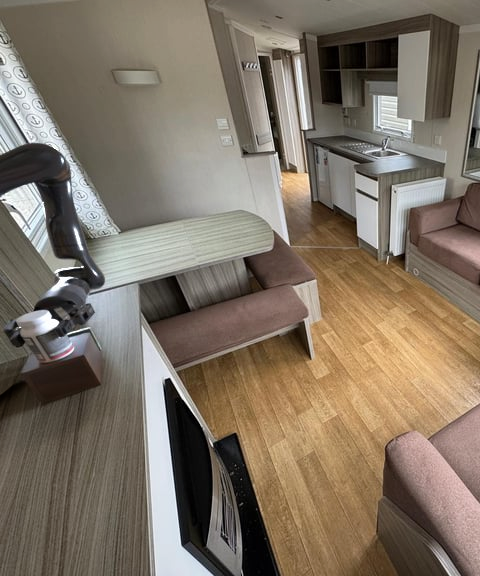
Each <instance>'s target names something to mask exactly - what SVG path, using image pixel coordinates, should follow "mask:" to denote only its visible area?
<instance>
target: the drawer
mask: <svg viewBox="0 0 480 576" xmlns="http://www.w3.org/2000/svg"><path fill="white" fill-rule="evenodd" d="M85 333H90V334H91V336H92V338H93V340H94V342H95V344H96V345H97V347H98V349H99V351H100V352H101V351H102V350H103V349H102V346H101V344H100V342H99V340H98V339H97V337H96V335H95V333H94V331H93V329H92V327H91V326H88V327H84V328H80V329H77V330H72V331H70V332H69V333H68V334H67V336H68V338H70V337H74V336H78V335H82V334H85Z"/></svg>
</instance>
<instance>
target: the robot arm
mask: <svg viewBox="0 0 480 576" xmlns="http://www.w3.org/2000/svg"><path fill="white" fill-rule="evenodd" d="M31 184H34V186H35V187H36V189H37V192H38V193H39V197H40V198H41V202H42V206H43V211H44V220H45V221H44V222H45V229H46V232H47V237H48V240H49V243H50V247H51V251H52V253H53V256H54V257H55V258H56V259H58V260H65V261H67V260H68V261H77V262H78V263H80V264H81V266H75V267H68V268H61V269H57V270H56V271H54V272H53V273H52V275H51V281H52V287H50V288H49V289H48V290H46V292H45V293H44V294H43V295H42V296H41V297H40V299H39V300H38V301H37V302H36V303H35V304H34V308H33V311H32V312H34V311H40V310H47V311H49V313H50V314H51V316H52V317H51V319H55V320H57V321H58V322H59V324H58V325H57V327H56V332H57V334H58V335H59V337H64V336H66V334H68V333H69V332H71V330H72V329H74V328H75V327H76V325H79V326H83V325H85V324H87V323H88V321H89V320H90V319H91V318H92V317H94V315H95V314H96V312H95V311H96V310H95V309H94V306H92V303H90V302H89V303H87V299H88V298H89V296H90V294H91V291H96V290H100V289H101V288H103V287H104V285H105V283H106V277H105V274H104V273H103V270H102V269H101V268H100V267H99V265H98V264H97V263H96V261H95V260H94V257H93V256H92V254H91V252H90V250H89V247H88V244H87V240H86V237H85V233H84V230H83V227H82V224H81V222H80V218H79V216H78V211H77V209H76V205H75V201H74V200H75V199H74V195H73V187H72V186H73V185H72V167H71V165H70V163H69V161H68V160H67V158H66V157H65V155H64V154H63V153H62V152H61V151H60V150H58V149H57V148H55V147H54V146H52V145H49V144H46V143H41V142H29V143H24V144H21V145H18V146H16V147H14V148H12V149H9V150H8V151H5V152H4V153H1V154H0V198H2V197H3V196H5V195H6V194H8V193H10V192H11V191H13V190H16V189H19V188H21V187H26V186H27V185H31ZM16 319H17V318H15V317H13V318H10V319H8V320H7V321H6V323H5V326H4V328H3V330H2V331H3V333H4V335H6V337H7V338H8V340H9V342H10V344H11V345H12V346H13V347H15V348H16V349H17V348H22V347H24V345H25V344H26V342H25V341H24V340H23V338H22V337H21V335H20V331H21V329H22V327H19V326H18V324H17V323H16Z"/></svg>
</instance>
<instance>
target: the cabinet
mask: <svg viewBox="0 0 480 576" xmlns="http://www.w3.org/2000/svg"><path fill="white" fill-rule="evenodd" d="M69 339H70V341H71V343H72V344H73V346H74V350H73V351H72V353H70V354H69V355H67V356H66V357H64V358H62V359H59V360H56V361H53V362H47V363H42V362H39V361H38V360H37V359H36V357H35V356H34V354H33V353H32V351H31V350H30V353H29V355H28V357H27V359H26V361H25V363H24V366H23V368H22V370H21V372H20V375H21V377H22V378H23V380H24V381H25V382H26V384H27V385H28V387H29V388H30V389H31V390H32V392H33V394H34V395H35V397H36V398H37V399H38V400H39V402H40V403H41V405H45V404H48V403H52V402H54V401H57V400H60V399H63V398H67V397H68V396H72V395H74V394H78V393H80V392H81V393H82V392H83V391H87V390H89V389H92V388H95V387H98V386H101V385H102V380H103V374H104V367H105V359H104V357H103V355H102V353H101V351H99V349H98V347H97V345H96V344H95V342H94V340H93V338H92V336H91V334H90V333H85V334H82V335H78V336H74V337H70V338H69Z"/></svg>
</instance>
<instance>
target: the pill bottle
mask: <svg viewBox="0 0 480 576" xmlns="http://www.w3.org/2000/svg"><path fill="white" fill-rule="evenodd" d="M33 311H34V310H33ZM33 311H30V312H28V313H25V314H22V315H20V316H19V317H17V318H15V319H16V323H17V324H18V326H19V327H22V329H21V331H20V335H21V337H22V338H23V340H24V341H25V344H26V346H27V347H28V348H29V350H30V352H31V351H32V353H33V354H34V356H35V357H36V359H37V360H38V361H39V362H42V363H47V362H53V361H56V360H59V359H62V358H64V357H66V356H67V355H69V354H70V353H72V351H73V350H74V346H73V344H72V343H71V341H70V339H69V338H68V336H67V334H66V336H64V337H59V335H58V334H57V332H56V327H57V325H58V324H59V322H58V321H57V320H55V319H51V317H52V316H51V314H50V313H49V311H47V310H40V311H34V312H33Z"/></svg>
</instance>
